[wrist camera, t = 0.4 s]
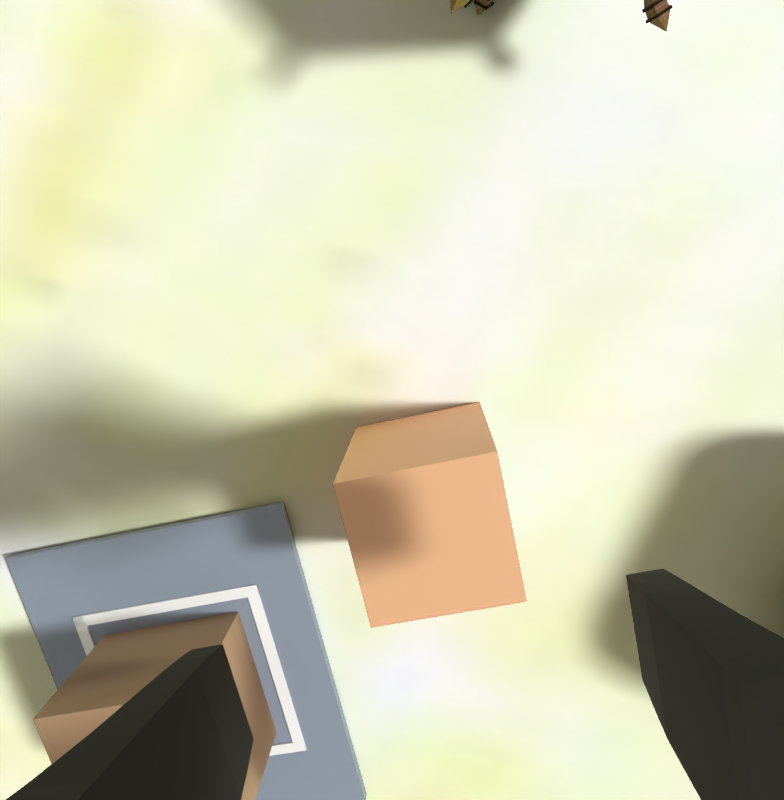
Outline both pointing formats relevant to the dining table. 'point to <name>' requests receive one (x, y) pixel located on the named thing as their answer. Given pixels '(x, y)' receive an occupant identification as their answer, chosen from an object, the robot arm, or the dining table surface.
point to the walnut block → (137, 666)
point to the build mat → (198, 598)
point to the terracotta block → (428, 517)
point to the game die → (653, 7)
